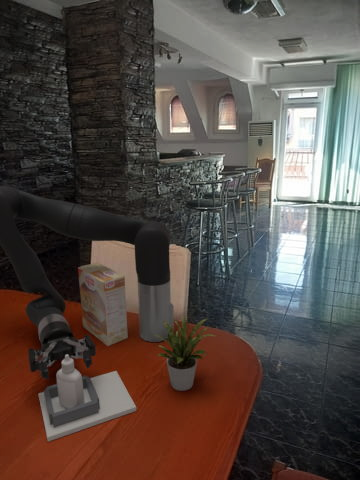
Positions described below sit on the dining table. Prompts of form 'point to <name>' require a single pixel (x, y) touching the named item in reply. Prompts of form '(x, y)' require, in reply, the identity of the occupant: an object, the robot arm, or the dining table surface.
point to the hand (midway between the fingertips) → (68, 369)
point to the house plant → (182, 355)
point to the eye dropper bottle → (69, 384)
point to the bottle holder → (86, 405)
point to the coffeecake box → (103, 302)
